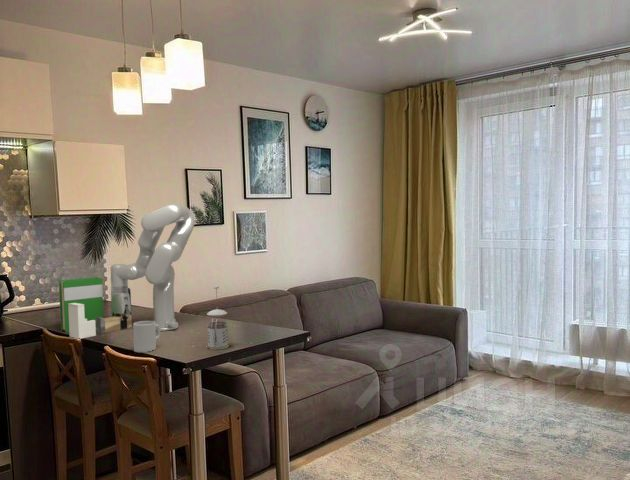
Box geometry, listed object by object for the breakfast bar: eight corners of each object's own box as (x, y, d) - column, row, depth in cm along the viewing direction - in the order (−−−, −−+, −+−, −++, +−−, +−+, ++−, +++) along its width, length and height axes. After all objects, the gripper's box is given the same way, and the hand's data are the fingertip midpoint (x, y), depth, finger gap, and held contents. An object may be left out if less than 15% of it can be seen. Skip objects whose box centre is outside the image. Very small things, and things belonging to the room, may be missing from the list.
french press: (232, 343, 224) (230, 283, 223) (226, 351, 212) (225, 287, 211) (208, 344, 224) (207, 284, 223) (201, 351, 213) (200, 287, 211)
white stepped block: (95, 335, 245) (94, 302, 244) (79, 339, 239) (77, 305, 238) (86, 333, 250) (85, 301, 249) (69, 336, 244) (68, 303, 243)
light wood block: (131, 327, 262) (131, 312, 262) (101, 333, 249) (100, 317, 249) (126, 326, 265) (126, 311, 264) (96, 332, 252) (96, 317, 252)
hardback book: (65, 332, 253) (63, 281, 252) (60, 330, 258) (58, 280, 257) (103, 327, 264) (102, 278, 263) (98, 325, 270) (96, 277, 269)
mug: (144, 353, 211) (143, 325, 210) (129, 351, 215) (128, 323, 214) (167, 346, 221) (166, 320, 221) (152, 344, 225) (151, 318, 225)
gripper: (136, 290, 257) (138, 328, 258) (116, 287, 267) (118, 324, 268) (122, 292, 251) (124, 331, 252) (102, 289, 261) (104, 327, 262)
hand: (121, 327), depth 260 cm, fingers closed on light wood block, 4 cm apart
